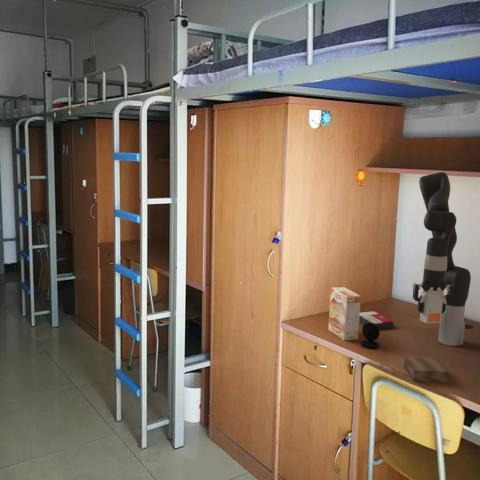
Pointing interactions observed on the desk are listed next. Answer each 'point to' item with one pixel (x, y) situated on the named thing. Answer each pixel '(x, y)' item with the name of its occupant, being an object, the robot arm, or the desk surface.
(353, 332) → the coffeecake box
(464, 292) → the robot arm
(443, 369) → the walnut base
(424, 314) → the skincare box
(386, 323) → the red and white box
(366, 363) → the desk surface
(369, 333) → the webcam
